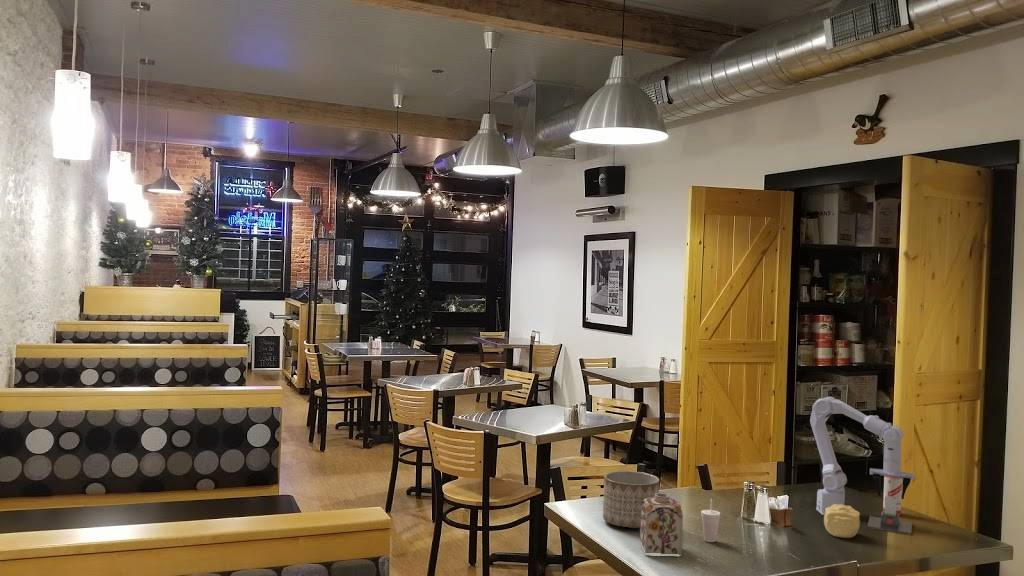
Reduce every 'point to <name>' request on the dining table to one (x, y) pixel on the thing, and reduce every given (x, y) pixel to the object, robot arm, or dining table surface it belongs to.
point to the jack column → (890, 506)
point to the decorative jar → (661, 525)
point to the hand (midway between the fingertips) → (890, 496)
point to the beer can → (893, 491)
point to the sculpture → (842, 521)
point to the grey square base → (889, 524)
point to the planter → (627, 496)
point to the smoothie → (710, 523)
